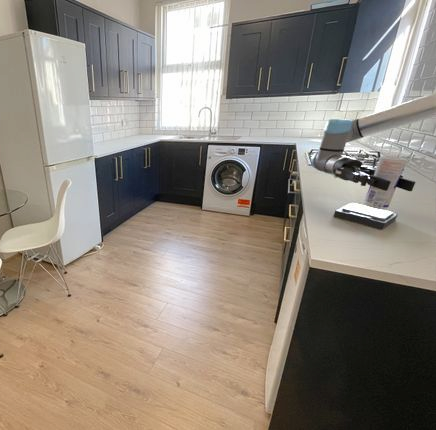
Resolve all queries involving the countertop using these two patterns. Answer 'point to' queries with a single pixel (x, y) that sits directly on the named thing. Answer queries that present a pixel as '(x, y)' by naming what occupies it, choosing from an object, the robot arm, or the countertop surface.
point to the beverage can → (389, 171)
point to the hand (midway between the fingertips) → (399, 186)
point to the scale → (366, 215)
